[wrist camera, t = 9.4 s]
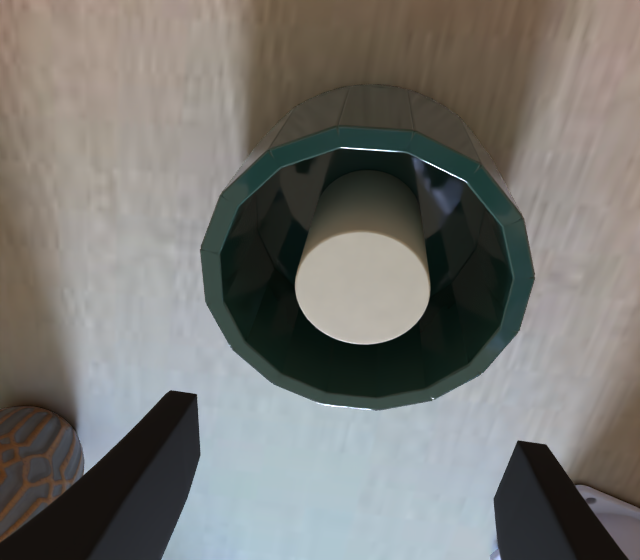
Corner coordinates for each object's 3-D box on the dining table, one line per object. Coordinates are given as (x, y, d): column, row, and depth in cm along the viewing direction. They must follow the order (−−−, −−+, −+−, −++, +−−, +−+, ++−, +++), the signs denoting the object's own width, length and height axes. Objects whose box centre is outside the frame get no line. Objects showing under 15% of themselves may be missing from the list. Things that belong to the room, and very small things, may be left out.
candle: (441, 198, 19) (457, 267, 14) (388, 281, 21) (389, 363, 16) (342, 150, 18) (329, 207, 14) (298, 240, 20) (274, 313, 16)
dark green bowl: (552, 160, 18) (610, 228, 13) (413, 348, 23) (420, 445, 18) (303, 31, 17) (271, 57, 12) (213, 259, 22) (165, 340, 17)
